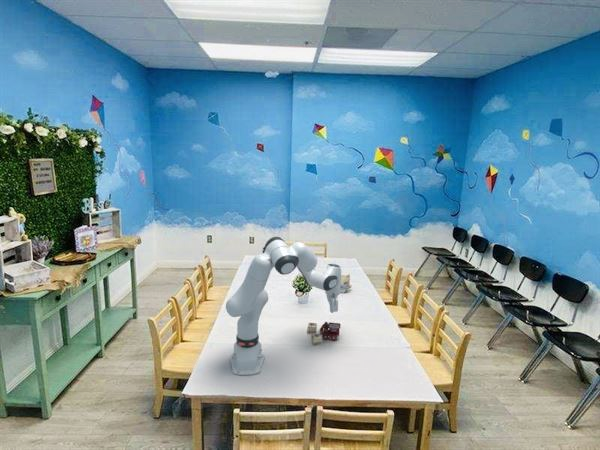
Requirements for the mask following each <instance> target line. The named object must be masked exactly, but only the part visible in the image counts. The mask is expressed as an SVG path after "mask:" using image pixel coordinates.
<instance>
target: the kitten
mask: <svg viewBox="0 0 600 450" xmlns="http://www.w3.org/2000/svg"><path fill="white" fill-rule="evenodd" d="M350 278H351V275H350V274H346V275H342V274H341V281H340V285H341V287H340V294H341V293H342V294H344V293H346V292H347V291H348V290H350V289H351V288H352V286H353V285H352V284H351V283H350V280H351V279H350Z"/></svg>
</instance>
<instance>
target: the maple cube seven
mask: <svg viewBox="0 0 600 450" xmlns="http://www.w3.org/2000/svg"><path fill="white" fill-rule="evenodd" d="M317 327H318V324H317V323H316V322H308V324H307V334H310V335H311V334H316V333H317Z"/></svg>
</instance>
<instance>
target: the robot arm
mask: <svg viewBox="0 0 600 450" xmlns="http://www.w3.org/2000/svg"><path fill="white" fill-rule="evenodd" d="M317 264H318V258H317V256H316V253H314V251H313V250H312V249H311V248H310V247H309V246H308V245H306V244H305V243H303V242H301V241H296V242H294V243H292V244H291V245H290V246H288V245H287V244H286V241H285V240H284V239H283V238H281V237H279V236H272V237H271V238H269V239H268V240H267V241H266V243H265V244H264V246H263V247H262V253H259V254H257V255H255V256H254V258H253V260H251V262H250V264H249V267H248V269H247V271H246V275H245V277H244V280H243V282H242V283H241V285H240V286H239V288H238V289H237V290H236V292H235V293H234V294H233V295H232V296H231V297H230V298H229V299H227V301H226V303H225V309H226V313H227V314H228V315H229V316H230V317H231V318H237V317H238V320H237V323H236V324H237V326H236V338H235V339H236V342H234V343H233V353H232V355H230V356H229V359H230V360H229V361H230V365H231V371H232V374H234V375H236V376H237V375H238V376H254V375H258V374H260V373H261V370H262V367H263V364H264V362H265V357H266V356H265V355H264V354H263V353H262V349H263V348H262V343H261V342H260V341H259V339H260V337H259V336H260V335H259V320H260V317H261V315H262V311H263V309H264V307H265V305H267V303H268V301H269V295H268V292H267V290H266V289H265V287H266V284H267V283H268V281H269V278H270V274H271V272H272V270H273V268H274V269H275V271H276V272H278V274H280V275H283V276H284V275H289V274H291V273H292V272H294V270H295V269H296V268H297V269H298V271H299V272H300V274H301V276H302V277H303V280H304V284H306V286H309V287H310V286H311V287H313V288H316V289H320V290H322V291H324V293H325V294H326V298H327V302H328V304H329V312H330V313H332V314H333V313H336V312H338V311H339V298H338V296H340V294H341V293H340V287H341V285H340V281H341V275H342V268H341V266H340V265H338V264H335V263H329V264H327V267H326V270H325V271H320V270H317V269H315V268H316V267H317Z"/></svg>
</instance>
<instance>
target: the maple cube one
mask: <svg viewBox="0 0 600 450" xmlns="http://www.w3.org/2000/svg"><path fill="white" fill-rule="evenodd" d="M310 335H311V337H310V342H311V344H312V346H315V347H316V346H322V344H323V343H322V342H323V338H322V335H320V332H318V333H317V332H316V334H310Z"/></svg>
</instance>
